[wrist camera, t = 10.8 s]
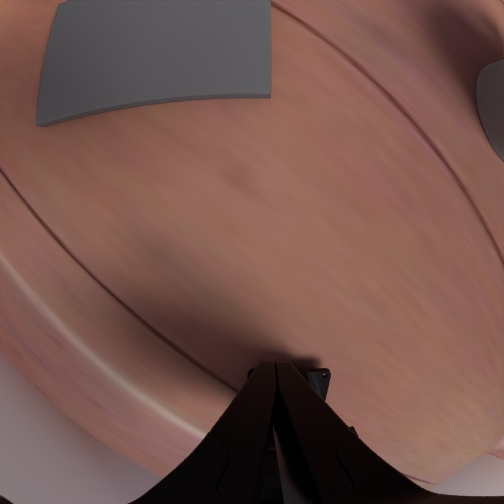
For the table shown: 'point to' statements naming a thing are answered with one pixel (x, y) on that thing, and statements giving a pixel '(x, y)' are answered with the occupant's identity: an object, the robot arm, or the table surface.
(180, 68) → the mat
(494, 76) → the coffee mug
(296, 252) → the table surface
